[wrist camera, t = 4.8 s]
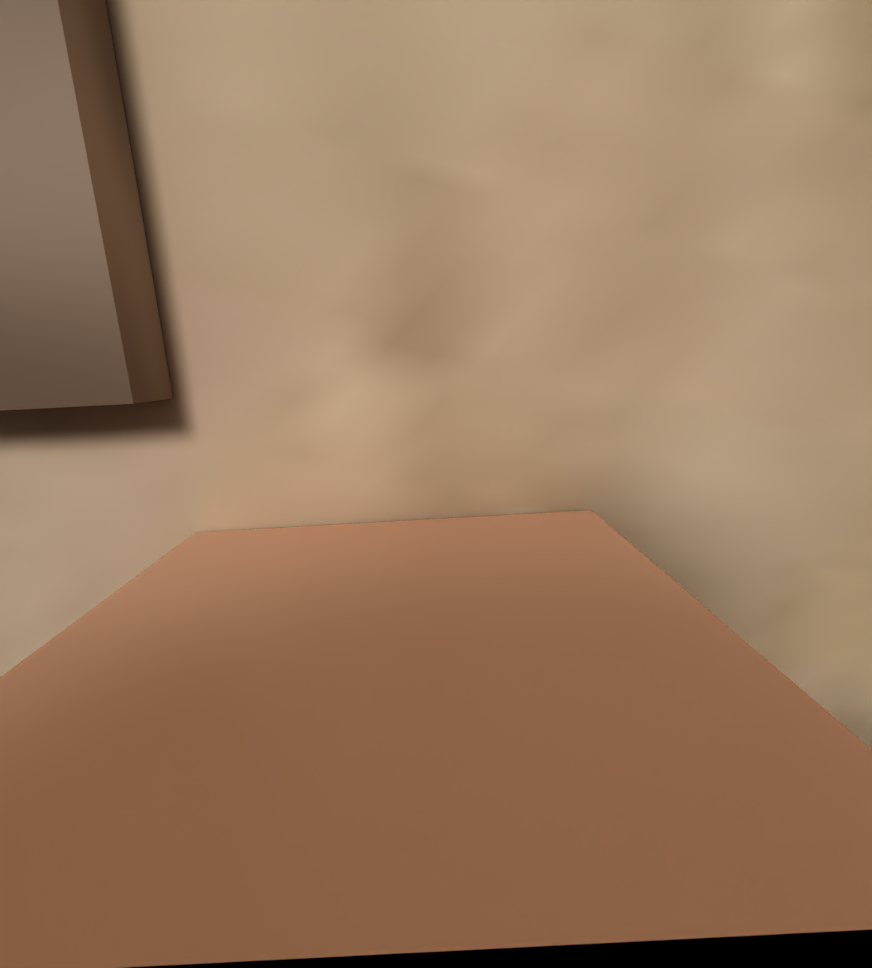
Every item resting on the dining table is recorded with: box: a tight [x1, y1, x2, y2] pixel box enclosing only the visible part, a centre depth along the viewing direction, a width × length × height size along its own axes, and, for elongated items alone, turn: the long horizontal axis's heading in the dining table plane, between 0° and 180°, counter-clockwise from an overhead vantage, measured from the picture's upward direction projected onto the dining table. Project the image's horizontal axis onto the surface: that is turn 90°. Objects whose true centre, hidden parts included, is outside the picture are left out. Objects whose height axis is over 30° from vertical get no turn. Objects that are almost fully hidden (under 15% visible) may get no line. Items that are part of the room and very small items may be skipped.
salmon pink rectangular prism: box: [0, 510, 872, 968], centre depth 5 cm, size 6×6×7 cm
